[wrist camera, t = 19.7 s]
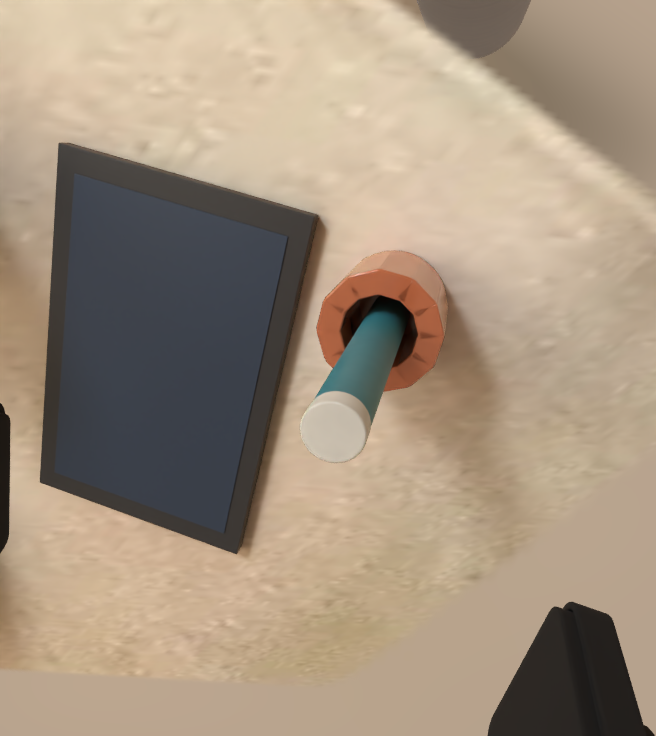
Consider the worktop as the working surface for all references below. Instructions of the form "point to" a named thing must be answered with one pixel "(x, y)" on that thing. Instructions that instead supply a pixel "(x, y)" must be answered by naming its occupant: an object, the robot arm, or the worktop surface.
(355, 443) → the stylus
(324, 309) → the holder
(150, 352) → the tablet
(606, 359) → the worktop surface
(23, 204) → the worktop surface
